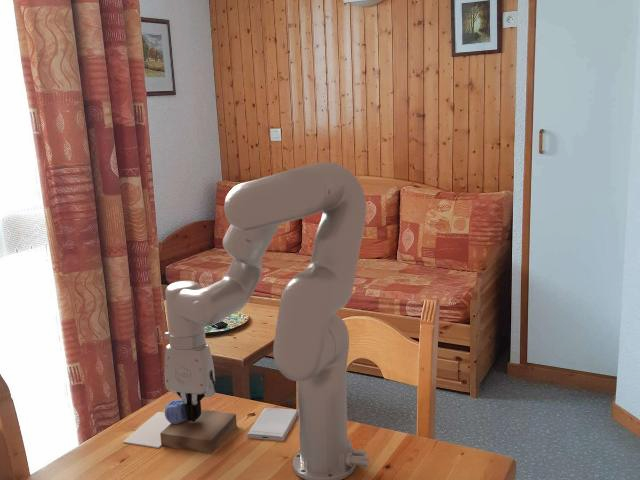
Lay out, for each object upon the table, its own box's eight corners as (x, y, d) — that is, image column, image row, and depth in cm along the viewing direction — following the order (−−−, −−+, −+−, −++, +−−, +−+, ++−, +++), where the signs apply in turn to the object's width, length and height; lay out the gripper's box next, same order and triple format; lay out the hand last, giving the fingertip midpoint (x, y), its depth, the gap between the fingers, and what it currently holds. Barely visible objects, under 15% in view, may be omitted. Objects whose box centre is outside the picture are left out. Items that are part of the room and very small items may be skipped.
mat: (191, 417, 149) (191, 416, 149) (158, 448, 136) (158, 447, 136) (158, 412, 152) (157, 411, 152) (122, 442, 139) (122, 441, 139)
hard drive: (264, 407, 151) (246, 433, 139) (298, 409, 149) (283, 436, 137) (264, 413, 151) (247, 440, 139) (298, 416, 149) (283, 443, 137)
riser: (236, 426, 144) (235, 413, 144) (211, 453, 133) (210, 440, 132) (189, 419, 148) (188, 407, 147) (161, 446, 137) (160, 433, 136)
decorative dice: (176, 415, 144) (172, 399, 143) (191, 415, 143) (188, 399, 142) (166, 424, 140) (162, 407, 140) (182, 424, 139) (178, 407, 138)
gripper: (147, 342, 135) (154, 422, 139) (210, 348, 130) (216, 431, 134) (166, 330, 142) (173, 406, 146) (227, 336, 137) (232, 414, 141)
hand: (194, 418), depth 140 cm, fingers closed
